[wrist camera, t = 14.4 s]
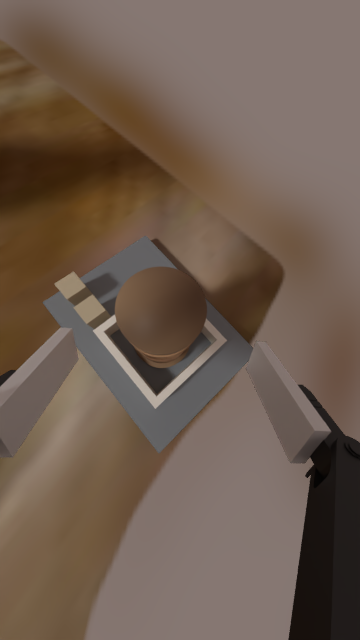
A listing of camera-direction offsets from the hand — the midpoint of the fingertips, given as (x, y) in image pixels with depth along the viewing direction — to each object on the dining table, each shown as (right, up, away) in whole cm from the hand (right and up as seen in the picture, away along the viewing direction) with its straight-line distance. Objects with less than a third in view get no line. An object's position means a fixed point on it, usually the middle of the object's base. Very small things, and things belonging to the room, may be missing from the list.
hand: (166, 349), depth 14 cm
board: (-3, +1, +11) cm, 11 cm away
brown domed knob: (-1, 0, +9) cm, 9 cm away
